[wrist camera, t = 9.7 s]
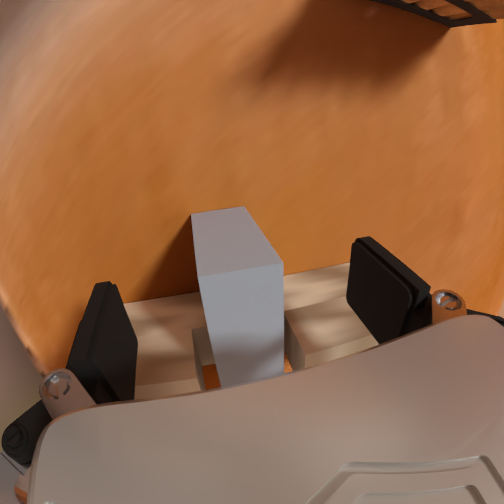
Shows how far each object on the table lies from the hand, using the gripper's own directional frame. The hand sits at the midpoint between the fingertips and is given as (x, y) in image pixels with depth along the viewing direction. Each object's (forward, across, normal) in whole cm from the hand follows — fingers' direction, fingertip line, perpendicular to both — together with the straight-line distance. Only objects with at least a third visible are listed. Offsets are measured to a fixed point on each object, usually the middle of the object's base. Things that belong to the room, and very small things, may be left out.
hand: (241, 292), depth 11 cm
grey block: (+6, 0, +6) cm, 8 cm away
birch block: (+6, 0, +6) cm, 8 cm away
